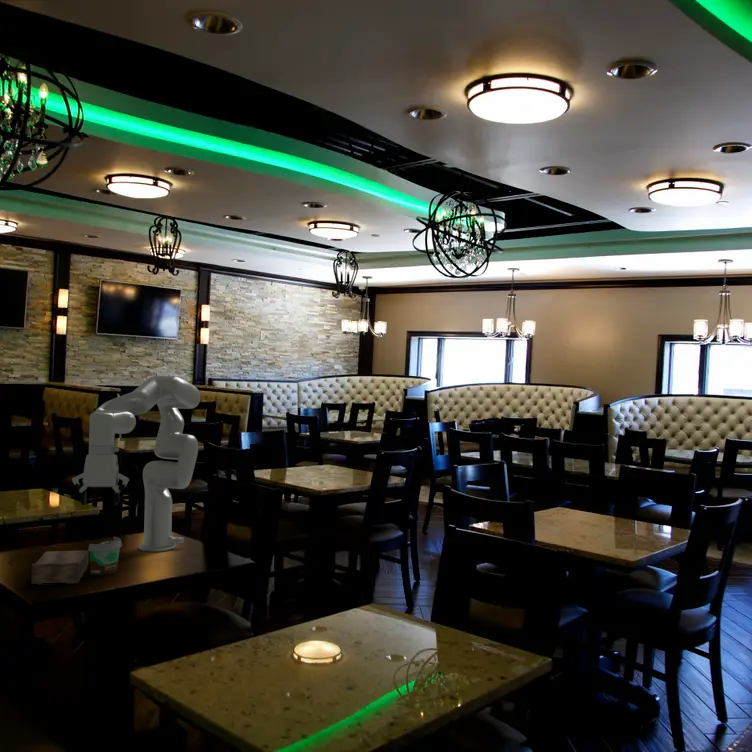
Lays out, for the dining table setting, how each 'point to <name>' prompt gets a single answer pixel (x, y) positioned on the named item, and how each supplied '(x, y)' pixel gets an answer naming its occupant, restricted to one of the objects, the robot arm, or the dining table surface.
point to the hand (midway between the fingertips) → (99, 504)
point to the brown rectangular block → (60, 567)
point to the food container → (104, 557)
